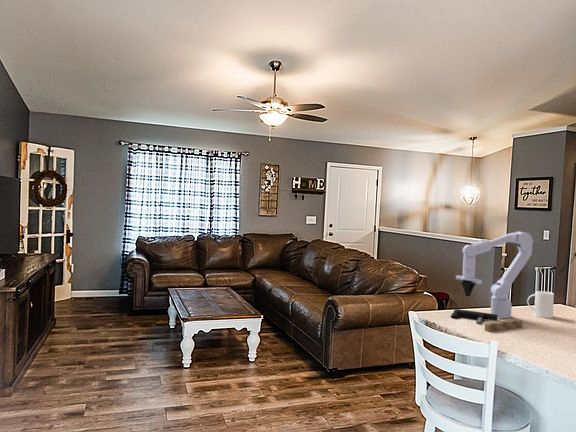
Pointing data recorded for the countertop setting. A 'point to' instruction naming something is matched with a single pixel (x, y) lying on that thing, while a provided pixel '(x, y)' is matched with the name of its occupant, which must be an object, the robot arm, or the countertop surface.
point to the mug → (543, 304)
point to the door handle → (473, 315)
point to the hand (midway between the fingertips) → (467, 295)
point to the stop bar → (503, 325)
